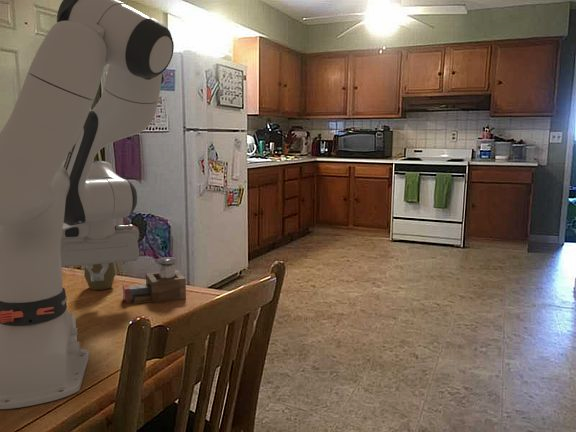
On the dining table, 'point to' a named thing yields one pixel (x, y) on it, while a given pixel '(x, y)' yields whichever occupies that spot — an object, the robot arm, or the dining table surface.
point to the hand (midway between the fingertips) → (97, 280)
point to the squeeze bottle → (108, 277)
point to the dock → (163, 288)
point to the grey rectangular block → (135, 292)
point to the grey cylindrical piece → (167, 267)
